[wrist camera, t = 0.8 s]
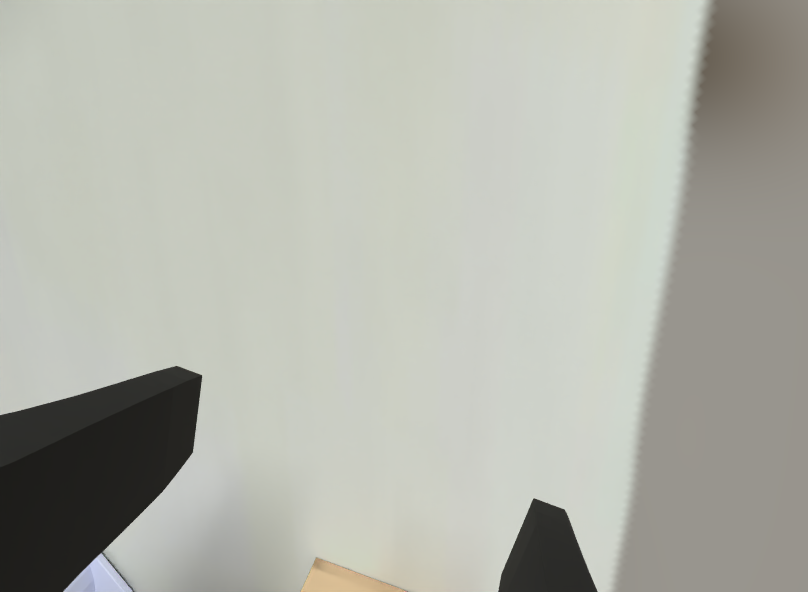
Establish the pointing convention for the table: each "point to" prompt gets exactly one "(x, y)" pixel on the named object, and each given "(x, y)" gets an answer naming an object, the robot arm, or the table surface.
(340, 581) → the carton
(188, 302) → the table surface
